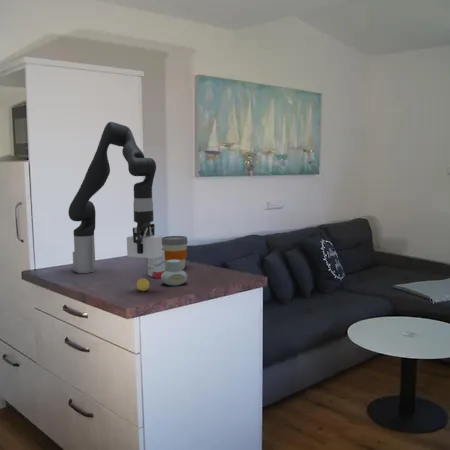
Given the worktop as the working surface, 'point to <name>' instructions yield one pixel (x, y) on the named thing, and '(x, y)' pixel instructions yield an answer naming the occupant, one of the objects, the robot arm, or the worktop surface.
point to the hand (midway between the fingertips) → (144, 251)
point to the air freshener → (174, 273)
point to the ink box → (156, 266)
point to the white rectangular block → (145, 247)
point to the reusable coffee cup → (175, 249)
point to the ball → (143, 284)
